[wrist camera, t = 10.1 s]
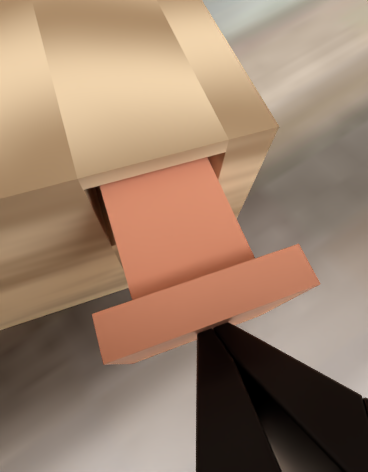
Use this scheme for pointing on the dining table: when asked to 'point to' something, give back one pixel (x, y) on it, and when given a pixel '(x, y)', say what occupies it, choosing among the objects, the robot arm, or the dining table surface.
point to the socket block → (107, 132)
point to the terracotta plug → (186, 264)
